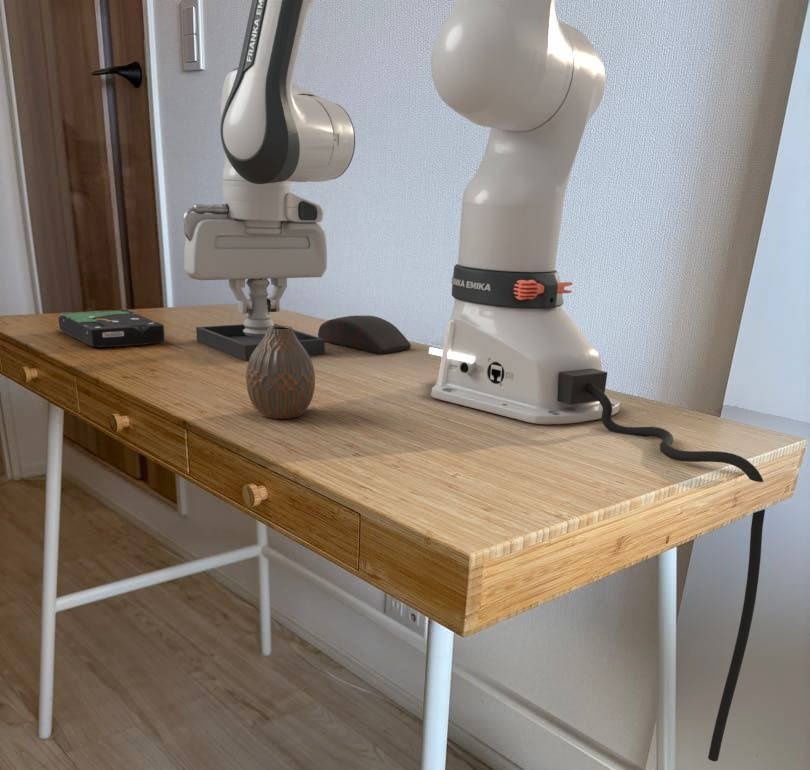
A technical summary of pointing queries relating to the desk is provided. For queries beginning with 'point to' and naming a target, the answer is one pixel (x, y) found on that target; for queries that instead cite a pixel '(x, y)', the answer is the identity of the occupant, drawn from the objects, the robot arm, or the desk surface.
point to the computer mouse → (364, 334)
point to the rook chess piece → (258, 309)
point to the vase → (280, 375)
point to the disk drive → (111, 328)
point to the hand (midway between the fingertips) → (258, 312)
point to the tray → (248, 340)
